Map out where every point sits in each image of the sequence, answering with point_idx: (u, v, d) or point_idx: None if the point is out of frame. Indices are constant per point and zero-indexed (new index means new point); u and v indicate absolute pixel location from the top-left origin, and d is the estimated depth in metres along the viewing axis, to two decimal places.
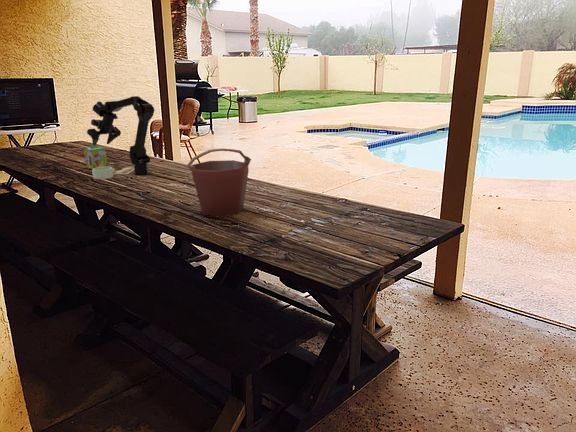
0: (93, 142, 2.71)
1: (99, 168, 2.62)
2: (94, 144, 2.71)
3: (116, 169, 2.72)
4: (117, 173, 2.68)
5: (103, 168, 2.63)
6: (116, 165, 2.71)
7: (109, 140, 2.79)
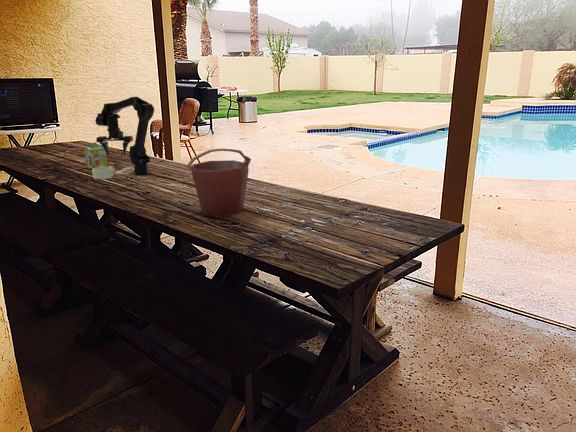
0: None
1: (99, 168, 2.62)
2: None
3: (116, 169, 2.72)
4: (117, 173, 2.68)
5: (103, 168, 2.63)
6: (116, 165, 2.71)
7: None
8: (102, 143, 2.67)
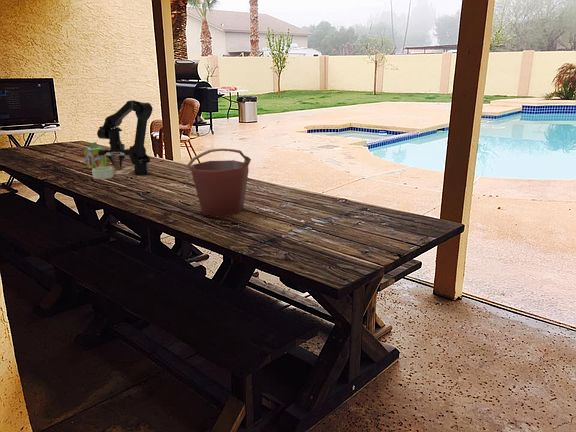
0: None
1: (99, 168, 2.62)
2: (113, 164, 2.72)
3: (116, 169, 2.72)
4: (117, 173, 2.68)
5: (103, 168, 2.63)
6: (116, 165, 2.71)
7: None
8: (109, 156, 2.69)
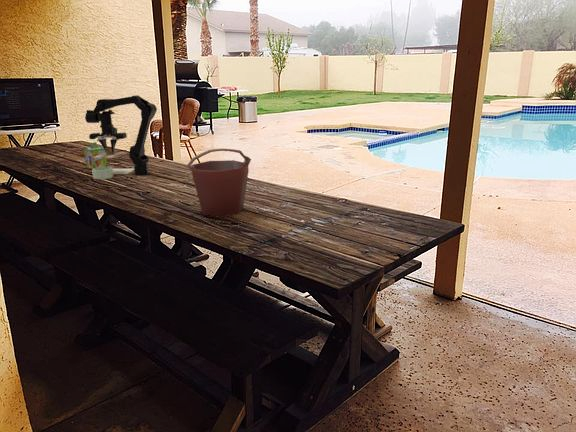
0: None
1: (99, 168, 2.62)
2: None
3: (108, 154, 2.64)
4: (108, 157, 2.59)
5: (103, 168, 2.63)
6: (108, 149, 2.63)
7: None
8: (100, 140, 2.60)
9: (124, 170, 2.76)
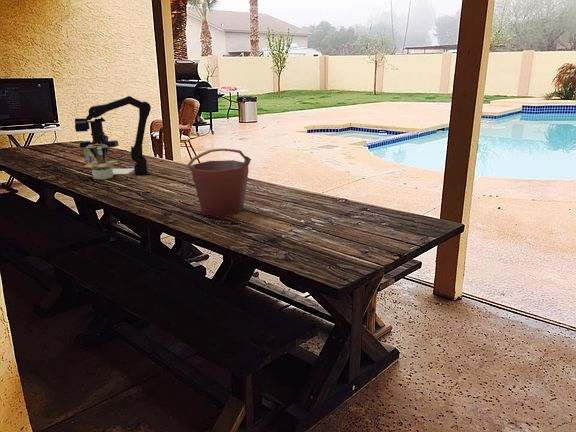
0: None
1: (99, 168, 2.62)
2: (95, 157, 2.56)
3: (99, 162, 2.56)
4: (100, 166, 2.52)
5: (103, 168, 2.63)
6: (99, 158, 2.55)
7: None
8: (91, 148, 2.52)
9: (124, 170, 2.76)
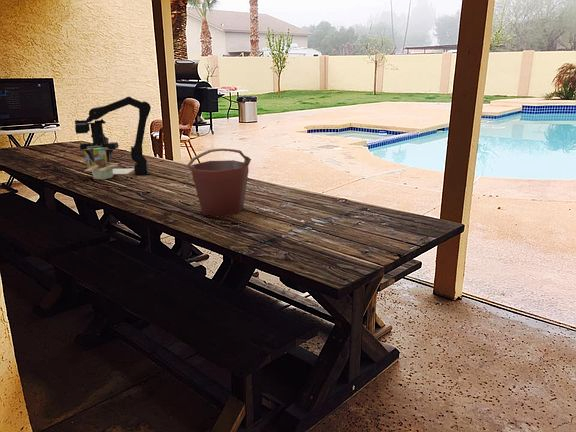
0: None
1: None
2: (91, 159, 2.56)
3: (99, 166, 2.57)
4: (100, 170, 2.52)
5: None
6: (99, 162, 2.56)
7: None
8: (87, 150, 2.53)
9: (124, 170, 2.76)
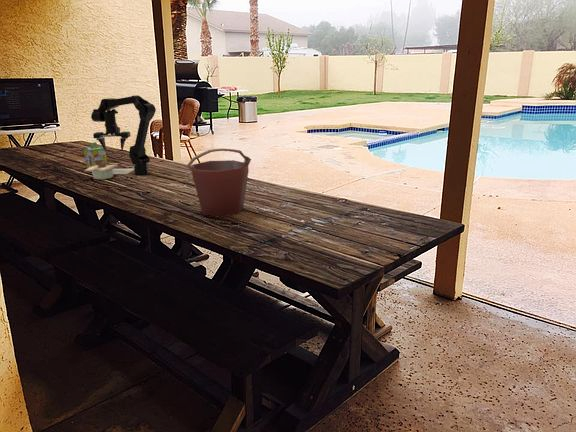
0: None
1: None
2: None
3: (99, 166, 2.57)
4: (100, 170, 2.52)
5: None
6: (99, 162, 2.56)
7: None
8: (99, 139, 2.64)
9: (124, 170, 2.76)
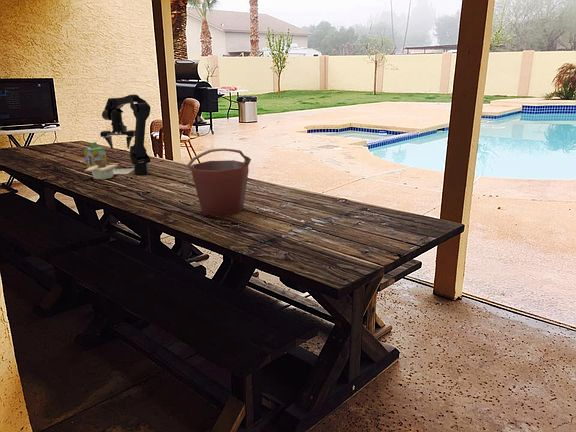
0: (110, 144, 2.74)
1: None
2: (110, 146, 2.73)
3: (99, 166, 2.57)
4: (100, 170, 2.52)
5: None
6: (99, 162, 2.56)
7: None
8: (106, 137, 2.70)
9: (124, 170, 2.76)
